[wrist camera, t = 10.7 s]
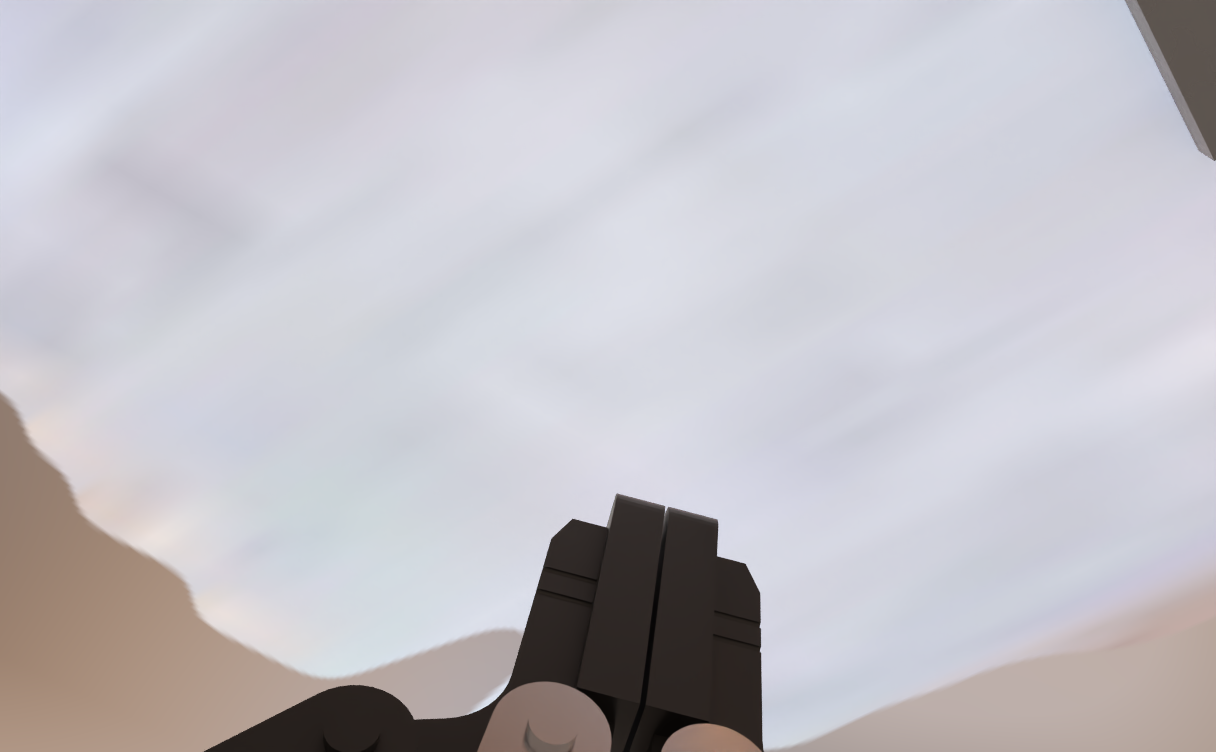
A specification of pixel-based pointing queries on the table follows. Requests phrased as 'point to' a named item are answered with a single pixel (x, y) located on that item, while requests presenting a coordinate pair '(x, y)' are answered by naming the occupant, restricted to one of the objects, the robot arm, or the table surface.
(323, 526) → the table surface
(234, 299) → the table surface
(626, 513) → the robot arm
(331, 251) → the table surface
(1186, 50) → the base plate
